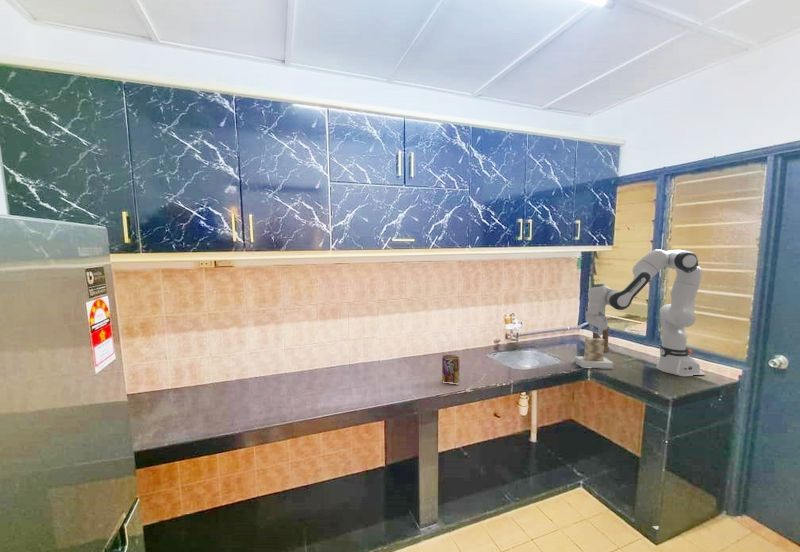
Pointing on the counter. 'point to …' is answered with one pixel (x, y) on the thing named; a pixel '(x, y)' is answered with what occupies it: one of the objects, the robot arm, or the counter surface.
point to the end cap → (594, 363)
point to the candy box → (450, 368)
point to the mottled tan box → (594, 349)
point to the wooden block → (604, 336)
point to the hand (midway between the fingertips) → (595, 333)
